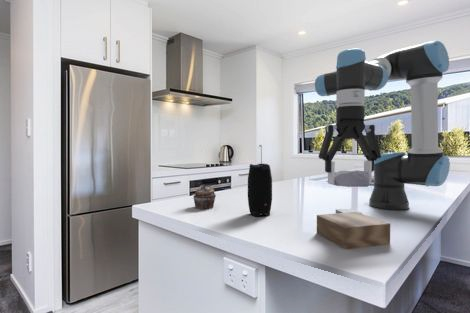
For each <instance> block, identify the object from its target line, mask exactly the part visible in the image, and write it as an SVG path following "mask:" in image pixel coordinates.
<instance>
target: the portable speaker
mask: <svg viewBox="0 0 470 313" xmlns="http://www.w3.org/2000/svg"><path fill="white" fill-rule="evenodd" d="M248 170H249V171H248V175H247V202H248V209H249V210H248V211H249V213H250V215H251V216H252V217H258V218H259V217H261V216H262V215H266V216H267V217H268V216H270V215H271V209H272V204H273V203H272V202H273V175H272V171H271V166H270V164H268V163H257V164H253V163H251V164H249V169H248Z"/></svg>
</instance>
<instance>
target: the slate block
mask: <svg viewBox="0 0 470 313" xmlns="http://www.w3.org/2000/svg"><path fill="white" fill-rule="evenodd" d="M349 212H358V213H361V214H363V213H362V212H361V211H359V210H356V209H354V208H341V209H340V208H338V209H336V208H335V214H336V213H349Z"/></svg>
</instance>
